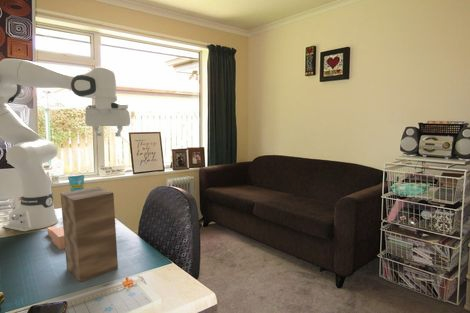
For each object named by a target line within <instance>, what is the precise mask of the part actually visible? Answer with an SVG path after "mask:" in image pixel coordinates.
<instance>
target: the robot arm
mask: <svg viewBox="0 0 470 313" xmlns="http://www.w3.org/2000/svg"><path fill="white" fill-rule="evenodd" d="M22 86H23V87H28V88H37V89H38V88H39V89H40V88H41V89H42V88H43V89H49V88H53V89H55V88H56V89H66V90H70V91H72V93H73V94H74V95H76V96H78V97H80V98H81V97H82V98H87V99H94V100H95V104H94V105H93V104H91V105H90V104H88V106H86V107H85V116H84V119H85V121H84V122H85V123H84V124H85V125H86V126H87V127H92V128H93V130H94V132H95V136H96V137H101V136H102V131H100V130H99V128H100V127H116V128H117V132H115V133H114V135H115V137H121V132H122V131H123V128H124V127H130V124H131V117H130V111H129V110H128V108H129V104H127V103H124V102H121V101H119V100H118V97H117V95H116V94H117V93H116V91H117V82H116V76H115V72H114V71H113V70H112V69H110V68H107V67H103V66H96V67H94V68H93V69H91V70H89V71H88V72H85V73H82V74H77V75H75V76H74V75H70V74H65V73H62V72H60V71H57V70H54V69H52V68H50V67H47V66H45V65H43V64H40V63H37V62H34V61H31V60H25V59H22V58H3V59H1V60H0V139H1V140H2V141H4V142H6V143H9V144H10V145H12V146H10V147H9V148H7V150H6V153H5V159H6V161H7V162H8V164H9V165H11V166H12V167H13V168H14V169H15V170H16V172H17V174H18V176H19V178H20V181H21V188H22V196H20V197H19V198H18V201H20V203H19V205H18V206H16V207H15V208H14V209H13V210H12V211H10V212H9V215H8V221H7V222H5V223H3V225H2V227H3V228H6V229H11V230H15V231H18V232H19V231H20V232H27V231H32V230H38V229H43V228H48V227H52V226H55V225H56V224H57V223H58V222H59V220H58V217H57V214H56V210H55V207H54V194H53V192H52V185H51V177H50V175H49V174H47V173H46V172H45V169H44V168H43V164H45V163H49V162H50V161H52V160H54V158H55V157H56V156H57V154H58V148H57V146H56V144H55V143H54V142H53V141H51V140H48V139H46V138H44V137H43V136H42V135H40V134H39V133H37V132H36V131H35V130H33V129H32V128H31V127H29V126H28V125H27V124H26V123H25V122H24V121H23V120H22V119H21V117H19V115H17V113H16V112H15V111H14V110H13V108H11V107H10V106H9V104H10V103H13V102H14V101H15V99H16V98H17V97H19V95H20V94H21V92H22Z"/></svg>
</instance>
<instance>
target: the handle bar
mask: <svg viewBox="0 0 470 313" xmlns="http://www.w3.org/2000/svg"><path fill="white" fill-rule="evenodd" d="M46 228H47V235H48V236H49V237H50V238H51V243H53V244H54V245H55V246H56V247H57V248H58V249H59V250H62V249H65V241H64V229H63V227H62V226H61V227H57V226H56V225H51V226H48V227H46Z"/></svg>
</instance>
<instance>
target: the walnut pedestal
mask: <svg viewBox="0 0 470 313" xmlns="http://www.w3.org/2000/svg"><path fill="white" fill-rule="evenodd" d="M114 195H115V194H114V192H113V191H110V190H107V189H105V188H102V187H100V186H95V187H88V188H84V189H82V190H76V191H71V190H70V191H66V192H60V203H61V214H62V215H61V216H62V226H63V229H64V241H65V248H64V251H65V261H66V269H67V271H68V272H70V274H72V276H73V277H75V279H77V280H78V281H79V283H83V282H84V281H88V280H90V279H93V278H95V277H98V276H100V275H103V274H106V273H108V272H111V271H114V270H116V269H118V268H119V264H118V262H119V261H118V249H117V233H116V232H117V231H116V228H117V227H116V216H115V215H116V214H115V197H114Z"/></svg>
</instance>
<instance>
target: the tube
mask: <svg viewBox="0 0 470 313" xmlns="http://www.w3.org/2000/svg"><path fill="white" fill-rule="evenodd" d="M67 178H68V183H69V187H70V191H76V190H82V189H85V187H84V186H85V185H84V184H85V183H84V182H85V174H82V175H74V176H72V175H71V176H67Z"/></svg>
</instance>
